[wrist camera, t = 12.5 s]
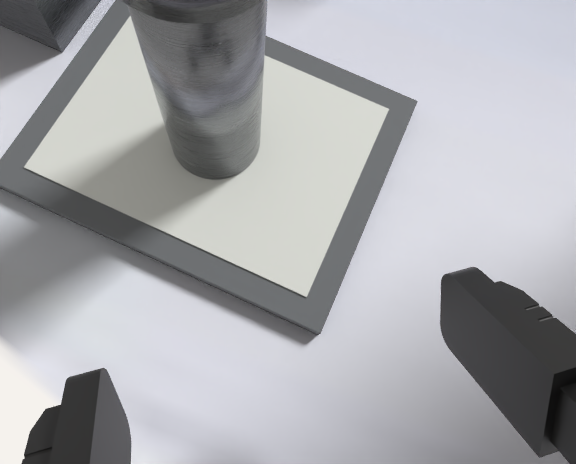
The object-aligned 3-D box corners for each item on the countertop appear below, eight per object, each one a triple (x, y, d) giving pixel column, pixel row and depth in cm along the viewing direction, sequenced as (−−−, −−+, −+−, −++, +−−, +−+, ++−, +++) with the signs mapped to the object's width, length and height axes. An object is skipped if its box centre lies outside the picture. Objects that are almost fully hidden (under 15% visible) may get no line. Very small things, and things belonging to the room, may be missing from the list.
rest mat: (134, -12, 23) (131, -23, 22) (413, 108, 22) (417, 100, 21) (-6, 184, 19) (-15, 178, 19) (318, 334, 19) (320, 332, 18)
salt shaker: (249, 81, 21) (250, -194, 11) (285, 170, 20) (321, -48, 10) (148, 108, 20) (53, -161, 10) (179, 203, 19) (105, 1, 9)
